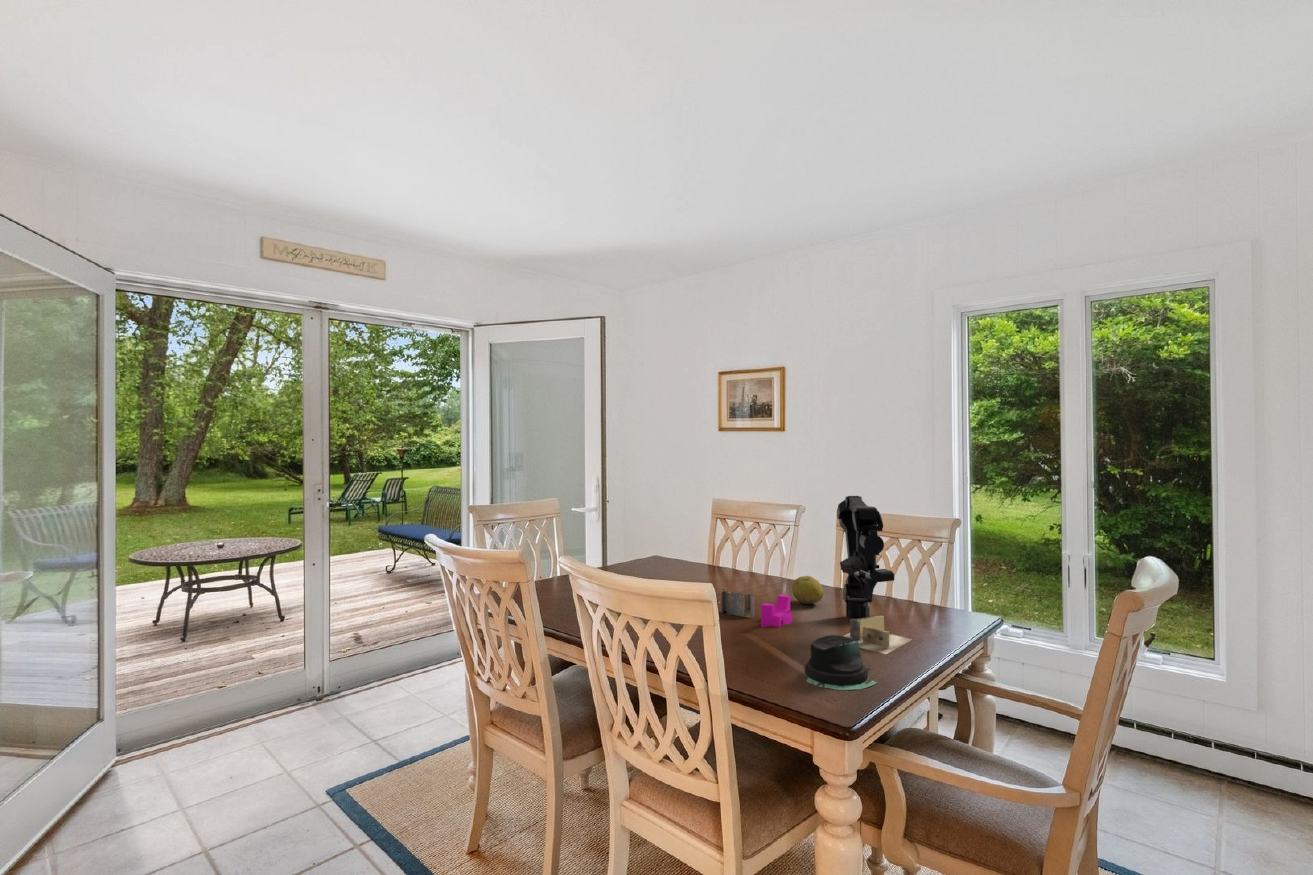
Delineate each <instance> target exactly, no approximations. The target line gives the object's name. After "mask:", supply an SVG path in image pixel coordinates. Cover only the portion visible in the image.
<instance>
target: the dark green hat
mask: <svg viewBox="0 0 1313 875" xmlns="http://www.w3.org/2000/svg"><path fill="white" fill-rule="evenodd" d="M809 648H810V658H809V659H808V661H807V662H806V664H805V666H804V675H805V676H806V677H808V678H807V679H806V683H808V684H812V685H814V686H817V685H818V687H820V688H823V689H825V688H826V689H832V690H839V691H849V690H853V691H854V690H863V689H866V688H869V687H872V686H874V685H876V684H877V683H878V681H875V680H870V682H868V681H869V679H870V677H869V675H868V674H869V673H868V671H870V670H871V669H870V668H866V667H865V666H864V663H863V658H862V654H861V651H860V649H861V648H859V642H858V641H857V640H855V639H852V637H844V635H839V634H827V635H823V636H821V637H819V638H816V639H815V640H814V641H812V643H811V644H810V646H809ZM823 685H824V687H823Z"/></svg>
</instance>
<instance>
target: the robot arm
mask: <svg viewBox="0 0 1313 875" xmlns="http://www.w3.org/2000/svg"><path fill="white" fill-rule="evenodd" d="M844 498H845V499H844V500H843V501H841V502H840V503H838V504H837V509H836V517H837V518H836V519H837V520H838V521H839V522H838V523H839V526H840V528H841V529H842V531H843V532H844V533H845V536H844V537H845V542H846V543H845V544H846V554H847V558H845V559H843V560H841V561H840V562H839V566H840V570H841V571H842V573H845V574H848V575H847V577H846V579H845V581H844V582H845V583H844V585H843V590H842V600H843V601H844V602H845V612H846V615H845V617H846V618H847V617H850V618H851V619H858V618H866V617H870V605H869V603H872V602H873V596H874V594H873V593H874V589H875V587H876V586H877V584H878V583H884V582H892V581H893V582H894V581H895V573H894V571H892V570H890V569H886V568H880V565H879V564H877V556H880V553H881V552H882V551H883V550H884V547H885V542H884V539H883V538H882V537H881V536H880V535H878V532H883V528H884V523H883V518H882V515H881V513H880V511H879V510H878V508H877V507H875V506H871V505H867V504H866V502H865V501H863V499H862V496H859V495H847V496H845V497H844Z"/></svg>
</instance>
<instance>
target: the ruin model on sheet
mask: <svg viewBox="0 0 1313 875" xmlns="http://www.w3.org/2000/svg"><path fill="white" fill-rule="evenodd" d="M721 590H723V591H721V592H720V602H721V603H720V606H721V607H720V608H721V611H720V612H721V614H723V613H726V614H727V615H730V614H731V616H737V617H738V616H739V617H744V618H750V619H752V618H754V617H755V594H750V593H743V592H737V591H736V592H735V591H730V590H729V587H727V586H726V587H722V586H721ZM724 611H726V612H724Z"/></svg>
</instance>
